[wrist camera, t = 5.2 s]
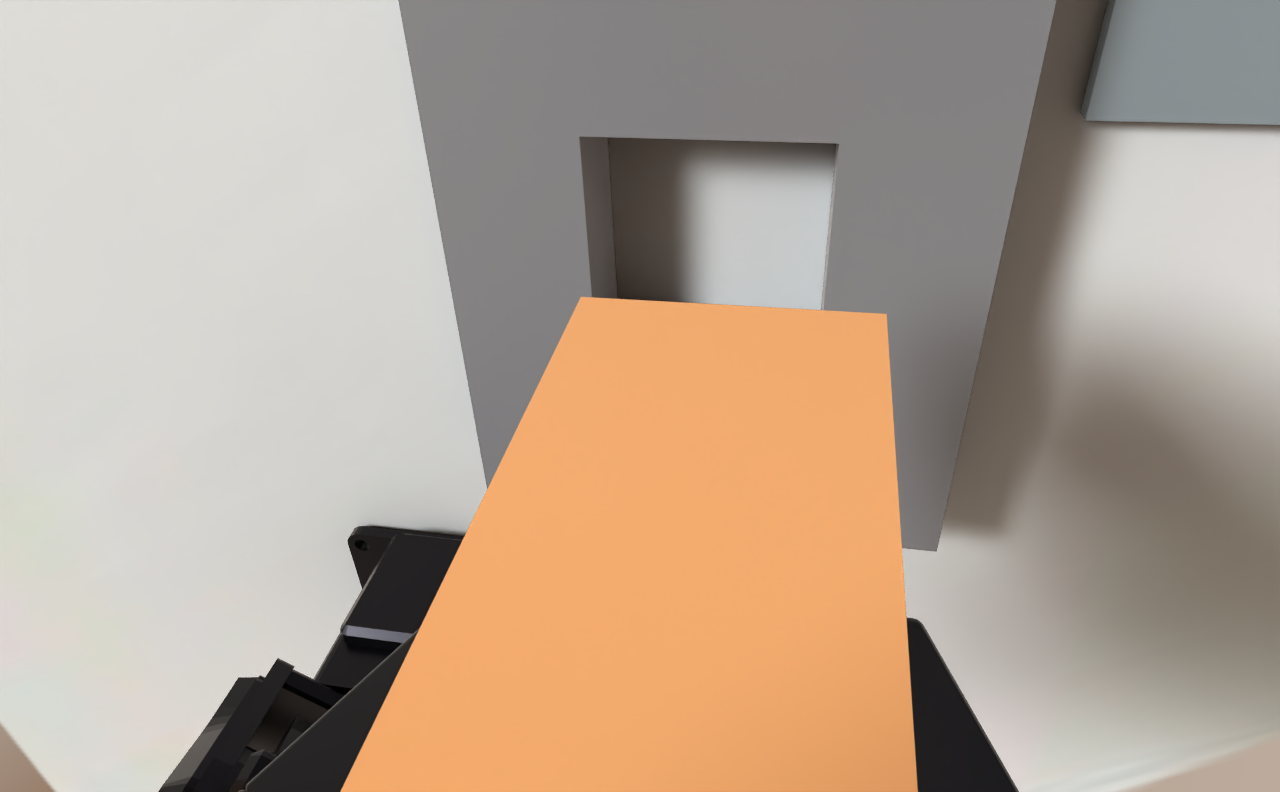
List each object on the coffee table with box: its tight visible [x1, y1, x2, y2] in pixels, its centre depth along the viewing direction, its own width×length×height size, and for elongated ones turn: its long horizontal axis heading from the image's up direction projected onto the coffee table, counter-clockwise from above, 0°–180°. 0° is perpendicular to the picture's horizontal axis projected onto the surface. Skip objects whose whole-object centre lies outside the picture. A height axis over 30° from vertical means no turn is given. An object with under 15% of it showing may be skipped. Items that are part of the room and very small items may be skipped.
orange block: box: [340, 297, 918, 792], centre depth 9 cm, size 4×4×9 cm
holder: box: [399, 0, 1057, 551], centre depth 20 cm, size 16×12×2 cm
